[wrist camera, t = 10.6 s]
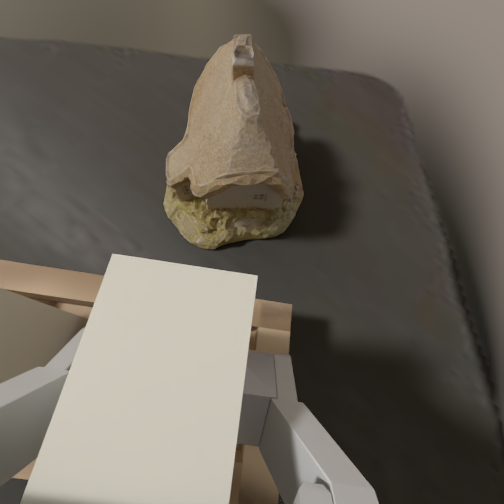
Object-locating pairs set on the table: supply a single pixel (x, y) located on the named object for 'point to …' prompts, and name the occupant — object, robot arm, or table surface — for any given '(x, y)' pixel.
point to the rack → (81, 303)
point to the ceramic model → (234, 153)
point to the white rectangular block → (151, 390)
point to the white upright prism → (32, 333)
